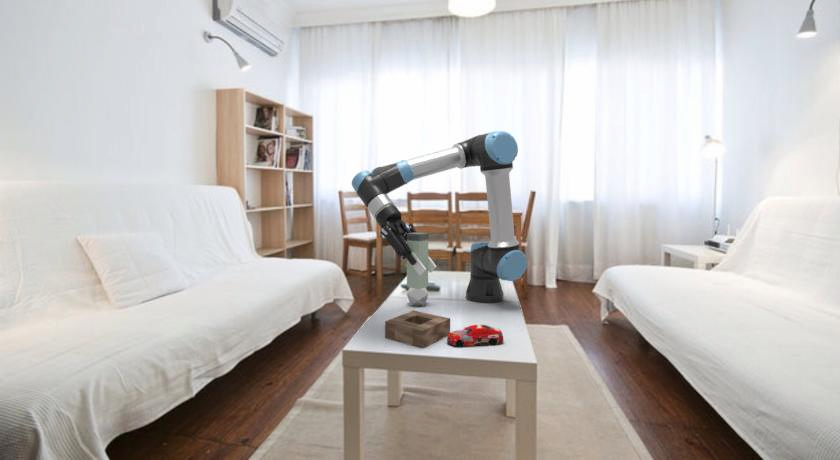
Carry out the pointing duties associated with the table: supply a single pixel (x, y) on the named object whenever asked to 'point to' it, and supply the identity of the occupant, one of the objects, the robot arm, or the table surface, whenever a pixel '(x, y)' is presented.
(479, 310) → the table surface
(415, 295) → the die
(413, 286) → the pin
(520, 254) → the robot arm
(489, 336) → the race car
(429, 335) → the collar block
